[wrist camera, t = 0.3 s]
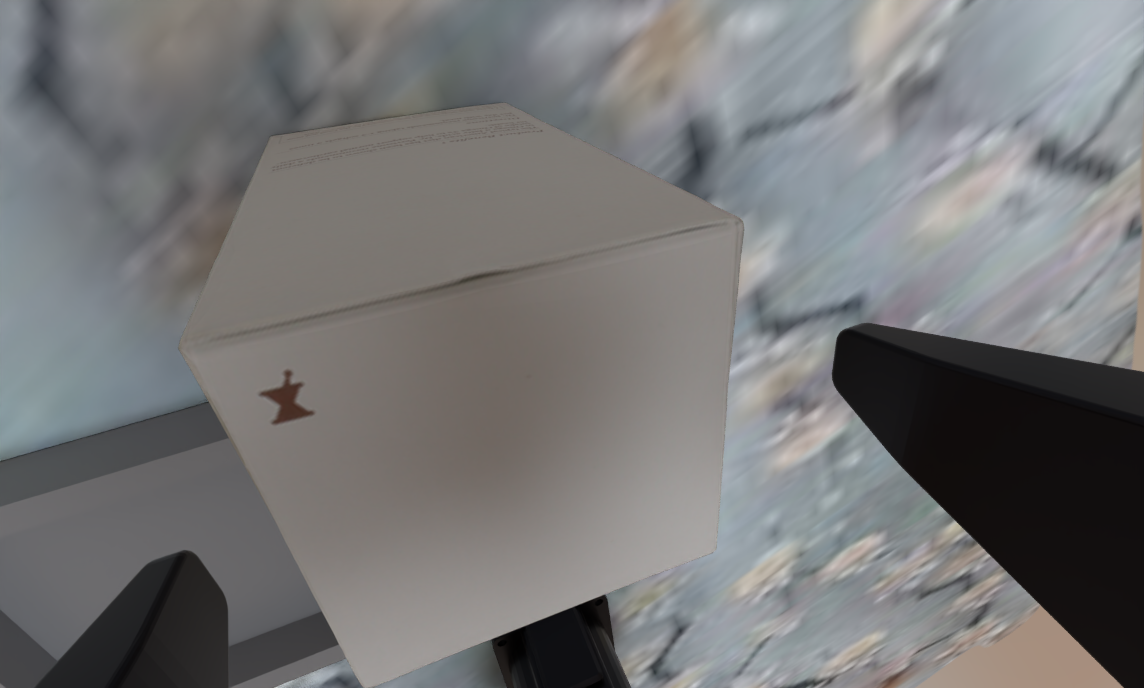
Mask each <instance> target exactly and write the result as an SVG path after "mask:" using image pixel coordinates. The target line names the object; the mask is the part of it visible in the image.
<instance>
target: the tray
mask: <svg viewBox="0 0 1144 688" xmlns="http://www.w3.org/2000/svg"><path fill="white" fill-rule="evenodd" d="M182 550H189V551H192V552H194V553H195V554H196V555H197V556H198V557H199V558H200V560H201V561H202V563H203V564H204V565H205V567H206V568H207V570H208V571H209V573H210V574H211V575H212V577H213V578H214V580H215V581H216V582H217V584H218V585H219V587H220V588H221V589H222V591H223V593H224V595H225V597H226V601H227V605H228V627H229V688H274V687H276V686H279V685H281V684H284V683H286V682H289V681H291V680H294V679H296V678H299V677H301V676H304V675H306V674H309V673H311V672H314V671H316V670H319V669H321V668H324V667H326V666H329V665H331V664H333V663H336V662H338V661H341V660H343V659H346V657H345V655H344V653H343V650H342V649H341V647H340V645H339V644H338V641H337V639H336V637H335V635H334V633H333V631H332V629H331V628H330V626H329V624H328V622H327V620H326V618H325V616H324V614H323V612H322V611H321V609H320V607H319V605H318V603H317V601H316V599H315V597H314V595H313V594H312V592H311V590H310V588H309V586H308V584H307V582H306V580H305V578H304V576H303V574H302V572H301V570H300V568H299V566H298V564H297V562H296V561H295V559H294V557H293V555H292V553H291V551H290V549H289V548H288V546H287V544H286V542H285V540H284V538H283V536H282V534H281V532H280V530H279V527H278V525H277V524H276V522H275V520H274V518H273V516H272V515H271V513H270V511H269V509H268V507H267V506H266V504H265V502H264V500H263V498H262V497H261V495H260V493H259V491H258V489H257V488H256V486H255V484H254V482H253V480H252V479H251V477H250V475H249V473H248V471H247V470H246V468H245V466H244V464H243V462H242V461H241V459H240V457H239V455H238V453H237V452H236V450H235V448H234V446H233V444H232V443H231V441H230V439H229V437H228V435H227V434H226V432H225V430H224V428H223V426H222V425H221V423H220V421H219V419H218V417H217V416H216V414H215V412H214V410H213V408H212V407H211V405H210V403H205V404H202V405H198V406H195V407H191V408H188V409H184V410H181V411H177V412H174V413H170V414H167V415H163V416H160V417H156V418H153V419H149V420H146V421H142V422H139V423H135V424H132V425H128V426H125V427H121V428H118V429H114V430H110V431H107V432H103V433H100V434H96V435H93V436H89V437H86V438H82V439H79V440H75V441H72V442H68V443H65V444H61V445H58V446H54V447H51V448H47V449H44V450H40V451H37V452H33V453H30V454H26V455H23V456H19V457H16V458H12V459H9V460H5V461H2V462H0V688H34V687H35V686H36V684H37V683H38V682H39V681H40V680H41V679H42V678H43V677H44V676H45V674H46V673H47V672H48V671H49V670H50V669H51V668H52V667H53V666H54V665H55V663H56V662H57V661H58V660H59V659H60V658H61V657H62V656H63V655H64V654H65V652H66V651H67V650H68V649H69V648H70V647H71V646H72V645H73V644H74V643H75V641H76V640H77V639H78V638H79V637H80V636H81V635H82V634H83V633H84V632H85V630H86V629H87V628H88V627H89V626H90V625H91V624H92V623H93V622H94V621H95V619H96V618H97V617H98V616H99V615H100V614H101V613H102V612H103V611H104V610H105V608H106V607H107V606H108V605H109V604H110V603H111V602H112V601H113V600H114V599H115V597H116V596H117V595H118V594H119V593H120V592H121V591H122V590H123V589H124V588H125V586H126V585H127V584H128V583H129V582H130V581H131V580H132V579H133V578H134V577H135V575H136V574H137V573H138V572H139V571H140V570H141V569H142V568H143V567H144V566H145V565H146V564H147V563H149V562H151V561H153V560H155V559H158V558H161V557H164V556H167V555H170V554H173V553H176V552H179V551H182Z"/></svg>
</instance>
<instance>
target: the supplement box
mask: <svg viewBox="0 0 1144 688" xmlns="http://www.w3.org/2000/svg"><path fill="white" fill-rule="evenodd" d="M743 236H744V224H743V221H742V219H740V218H739V217H737V216H735V215H733V214H730V213H728V212H726V211H724V210H722V209H720V208H718V207H716V206H714V205H712V204H710V203H708V202H706V201H705V200H703V199H701V198H699V197H697V196H695V195H693V194H691V193H689V192H686V191H684V190H682V189H680V188H678V187H676V186H674V185H672V184H670V183H668V182H666V181H664V180H662V179H660V178H658V177H656V176H654V175H652V174H650V173H648V172H646V171H644V170H642V169H640V168H638V167H635V166H633V165H631V164H629V163H627V162H625V161H623V160H621V159H619V158H617V157H615V156H613V155H611V154H609V153H607V152H604V151H602V150H600V149H598V148H596V147H594V146H592V145H590V144H588V143H586V142H584V141H582V140H580V139H578V138H576V137H574V136H571V135H569V134H567V133H566V132H564V131H562V130H559V129H557V128H555V127H553V126H551V125H549V124H547V123H545V122H543V121H541V120H539V119H537V118H535V117H533V116H531V115H530V114H528V113H526V112H523V111H521V110H519V109H517V108H515V107H513V106H511V105H509V104H508V103H497V104H488V105H479V106H470V107H463V108H455V109H448V110H441V111H434V112H427V113H420V114H414V115H407V116H401V117H394V118H387V119H381V120H374V121H368V122H361V123H354V124H348V125H341V126H335V127H328V128H322V129H315V130H308V131H302V132H296V133H289V134H283V135H275V136H271V137H269V140H268V143H267V145H266V147H265V149H264V152H263V154H262V156H261V158H260V161H259V163H258V165H257V168H256V170H255V172H254V175H253V177H252V179H251V181H250V183H249V185H248V188H247V190H246V192H245V194H244V197H243V199H242V201H241V203H240V206H239V208H238V210H237V213H236V215H235V217H234V220H233V222H232V224H231V227H230V229H229V231H228V233H227V235H226V238H225V240H224V242H223V244H222V247H221V249H220V252H219V254H218V256H217V258H216V260H215V261H214V264H213V266H212V268H211V271H210V273H209V276H208V279H207V282H206V284H205V286H204V288H203V290H202V292H201V294H200V296H199V298H198V301H197V303H196V305H195V307H194V309H193V312H192V314H191V316H190V319H189V321H188V323H187V326H186V328H185V330H184V333H183V335H182V337H181V340H180V343H179V347H178V349H179V351H180V352H181V354H182V356H183V358H184V359H185V361H186V363H187V364H188V366H189V368H190V370H191V371H192V373H193V375H194V377H195V378H196V380H197V382H198V384H199V385H200V387H201V389H202V391H203V392H204V394H205V396H206V398H207V400H208V401H209V403H210V405H211V407H212V408H213V410H214V412H215V414H216V416H217V417H218V419H219V421H220V423H221V425H222V426H223V428H224V430H225V432H226V434H227V435H228V437H229V439H230V441H231V443H232V444H233V446H234V448H235V450H236V452H237V453H238V455H239V457H240V459H241V461H242V462H243V464H244V466H245V468H246V470H247V471H248V473H249V475H250V477H251V479H252V480H253V482H254V484H255V486H256V488H257V489H258V491H259V493H260V495H261V497H262V498H263V500H264V502H265V504H266V506H267V507H268V509H269V511H270V513H271V515H272V516H273V518H274V520H275V522H276V524H277V525H278V527H279V530H280V532H281V534H282V536H283V538H284V540H285V542H286V544H287V546H288V548H289V549H290V551H291V553H292V555H293V557H294V559H295V561H296V562H297V564H298V566H299V568H300V570H301V572H302V574H303V576H304V578H305V580H306V582H307V584H308V586H309V588H310V590H311V592H312V594H313V595H314V597H315V599H316V601H317V603H318V605H319V607H320V609H321V611H322V612H323V614H324V616H325V618H326V620H327V622H328V624H329V626H330V628H331V629H332V631H333V633H334V635H335V637H336V639H337V641H338V644H339V645H340V647H341V649H342V650H343V653H344V655H345V657H346V659H347V661H348V662H349V664H350V666H351V668H352V670H353V672H354V674H355V675H356V677H357V679H358V680H359V682H360V684H361V685H362V686H363V687H364V688H370V687H375V686H377V685H379V684H382V683H385V682H387V681H390V680H392V679H395V678H397V677H400V676H402V675H404V674H407V673H409V672H412V671H414V670H416V669H419V668H421V667H423V666H426V665H428V664H431V663H433V662H436V661H438V660H441V659H443V658H446V657H448V656H451V655H453V654H456V653H458V652H460V651H463V650H465V649H468V648H470V647H473V646H476V645H478V644H481V643H483V642H486V641H488V640H491V639H493V638H496V637H498V636H501V635H503V634H506V633H508V632H511V631H513V630H516V629H518V628H521V627H523V626H526V625H529V624H531V623H534V622H536V621H539V620H541V619H544V618H546V617H549V616H551V615H554V614H556V613H559V612H561V611H564V610H566V609H569V608H572V607H574V606H577V605H579V604H582V603H584V602H587V601H589V600H592V599H594V598H597V597H599V596H602V595H605V594H607V593H610V592H612V591H615V590H617V589H620V588H622V587H625V586H627V585H630V584H632V583H635V582H638V581H640V580H643V579H645V578H648V577H650V576H653V575H655V574H658V573H661V572H664V571H666V570H669V569H671V568H674V567H677V566H679V565H682V564H685V563H687V562H690V561H692V560H695V559H698V558H700V557H703V556H706V555H708V554H711V553H713V552H714V551H715V550H716V546H717V532H718V520H719V508H720V495H721V479H722V466H723V454H724V440H725V426H726V411H727V392H728V380H729V371H730V361H731V352H732V342H733V333H734V324H735V315H736V304H737V294H738V283H739V272H740V260H741V252H742V244H743Z"/></svg>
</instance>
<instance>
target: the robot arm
mask: <svg viewBox="0 0 1144 688" xmlns="http://www.w3.org/2000/svg"><path fill="white" fill-rule="evenodd" d="M832 380H833V383H834V386H835V388H836V390H837V391H838V392H839V394H840V395H841V396H842V397H843V398H844V399H845V401H846V402H847V403H848V404H849V405H850V407H851V408H852V409H853V410H854V411H855V413H856V414H857V415H858V416H859V417H860V419H861V420H862V421H863V422H864V423H865V425H866V426H867V427H868V428H869V429H870V431H871V432H872V433H873V434H874V435H875V437H876V438H877V439H878V440H879V441H880V443H881V444H882V445H883V446H884V447H885V449H886V450H887V451H888V452H889V453H890V454H891V456H892V457H893V458H894V459H895V460H896V461H897V462H898V464H899V465H900V466H901V467H902V468H903V469H904V470H905V471H906V472H907V473H908V474H909V475H910V476H911V477H912V478H913V479H914V480H915V481H916V482H917V483H918V484H919V485H920V486H921V487H922V488H923V489H924V490H925V491H926V492H927V493H928V494H929V495H930V496H931V497H932V498H933V499H934V500H935V501H936V502H937V503H938V504H939V505H940V506H941V507H942V508H943V509H944V510H945V511H946V512H947V513H948V514H949V515H950V516H951V517H952V518H953V519H954V520H955V521H956V522H957V523H958V524H959V525H960V526H961V527H962V528H963V529H964V530H965V531H966V532H967V533H968V534H969V535H970V536H971V537H972V538H973V539H974V540H975V541H976V542H977V543H978V544H979V545H980V546H981V547H982V548H983V549H984V550H985V551H986V552H987V553H988V554H989V555H990V556H991V557H992V558H993V559H994V560H995V561H996V562H997V563H998V564H999V565H1000V566H1002V567H1003V568H1004V569H1005V570H1006V571H1007V572H1008V573H1009V574H1010V575H1011V576H1012V577H1013V578H1014V579H1015V580H1016V581H1017V582H1018V583H1019V584H1020V585H1021V586H1022V587H1023V588H1024V589H1025V590H1026V591H1027V592H1028V593H1029V594H1030V595H1031V596H1032V597H1033V598H1034V599H1035V600H1036V601H1037V602H1038V603H1039V604H1040V605H1041V606H1042V607H1043V608H1044V609H1045V610H1046V611H1047V612H1048V613H1049V614H1050V615H1051V616H1052V617H1053V618H1054V619H1055V620H1056V621H1057V622H1058V623H1059V624H1060V625H1061V626H1062V627H1063V628H1064V629H1065V630H1066V631H1067V632H1068V633H1069V634H1070V635H1071V636H1072V637H1073V638H1074V639H1075V640H1076V641H1077V642H1078V643H1079V644H1080V645H1081V646H1082V647H1083V648H1084V649H1085V650H1086V651H1087V652H1088V653H1089V654H1090V655H1091V656H1092V657H1093V658H1095V660H1096V661H1097V662H1098V663H1099V664H1101V666H1102V667H1103V668H1104V669H1105V670H1106V671H1107V672H1108V673H1109V674H1110V675H1111V676H1113V677H1114V678H1115V679H1116V680H1117V681H1118V682H1119V683H1120V684H1121V685H1122V686H1123V687H1124V688H1144V372H1142V371H1136V370H1130V369H1125V368H1119V367H1114V366H1108V365H1102V364H1097V363H1091V362H1086V361H1080V360H1074V359H1069V358H1063V357H1058V356H1052V355H1046V354H1041V353H1035V352H1029V351H1024V350H1018V349H1013V348H1007V347H1001V346H996V345H990V344H985V343H979V342H973V341H968V340H962V339H956V338H951V337H945V336H940V335H934V334H928V333H923V332H917V331H912V330H906V329H900V328H895V327H889V326H884V325H878V324H872V323H862V324H858V325H855V326H852V327H849V328H846V329H844V330H842V331H841V332H840V333H839V335H838V337H837V340H836V347H835V354H834V362H833V369H832ZM491 642H492V645H493V649H494V652H495V654H496V657H497V660H498V663H499V666H500V669H501V671H502V674H503V677H504V680H505V683H506V686H507V688H631V686H630V684H629V682H628V679H627V677H626V675H625V673H624V670H623V668H622V666H621V664H620V661H619V659H618V657H617V655H616V653H615V648H614V641H613V635H612V628H611V621H610V615H609V608H608V601H607V598H606V595H602V596H599V597H597V598H594V599H592V600H589V601H587V602H584V603H582V604H579V605H577V606H574V607H572V608H569V609H566V610H564V611H561V612H559V613H556V614H554V615H551V616H549V617H546V618H544V619H541V620H539V621H536V622H534V623H531V624H529V625H526V626H523V627H521V628H518V629H516V630H513V631H511V632H508V633H506V634H503V635H501V636H498V637H496V638H493V639H491ZM34 688H229V627H228V605H227V601H226V597H225V595H224V593H223V591H222V589H221V588H220V587H219V585H218V584H217V582H216V581H215V580H214V578H213V577H212V575H211V574H210V573H209V571H208V570H207V568H206V567H205V565H204V564H203V563H202V561H201V560H200V558H199V557H198V556H197V555H196V554H195V553H194V552H192V551H189V550H182V551H179V552H176V553H173V554H170V555H167V556H164V557H161V558H158V559H155V560H153V561H151V562H149V563H147V564H146V565H145V566H144V567H143V568H142V569H141V570H140V571H139V572H138V573H137V574H136V575H135V577H134V578H133V579H132V580H131V581H130V582H129V583H128V584H127V585H126V586H125V588H124V589H123V590H122V591H121V592H120V593H119V594H118V595H117V596H116V597H115V599H114V600H113V601H112V602H111V603H110V604H109V605H108V606H107V607H106V608H105V610H104V611H103V612H102V613H101V614H100V615H99V616H98V617H97V618H96V619H95V621H94V622H93V623H92V624H91V625H90V626H89V627H88V628H87V629H86V630H85V632H84V633H83V634H82V635H81V636H80V637H79V638H78V639H77V640H76V641H75V643H74V644H73V645H72V646H71V647H70V648H69V649H68V650H67V651H66V652H65V654H64V655H63V656H62V657H61V658H60V659H59V660H58V661H57V662H56V663H55V665H54V666H53V667H52V668H51V669H50V670H49V671H48V672H47V673H46V674H45V676H44V677H43V678H42V679H41V680H40V681H39V682H38V683H37V684H36V686H35V687H34Z"/></svg>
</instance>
